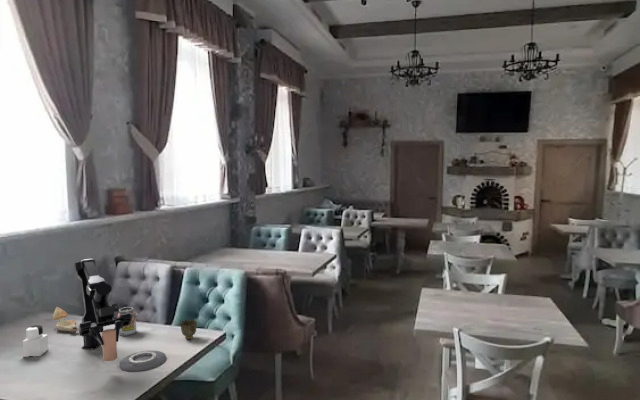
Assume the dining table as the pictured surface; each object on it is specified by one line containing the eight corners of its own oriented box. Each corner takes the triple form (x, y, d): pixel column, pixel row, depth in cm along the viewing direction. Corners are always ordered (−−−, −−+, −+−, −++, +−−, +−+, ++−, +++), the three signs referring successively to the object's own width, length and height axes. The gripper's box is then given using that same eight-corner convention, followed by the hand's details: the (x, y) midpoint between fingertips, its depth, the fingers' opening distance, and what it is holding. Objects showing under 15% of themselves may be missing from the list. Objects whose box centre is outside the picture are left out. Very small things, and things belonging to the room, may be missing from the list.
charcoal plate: (109, 370, 177) (109, 368, 177) (135, 351, 194) (135, 349, 194) (151, 372, 174) (150, 370, 173) (173, 353, 191) (173, 351, 191)
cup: (192, 342, 203) (191, 325, 203) (178, 341, 205) (177, 324, 204) (200, 335, 211) (199, 319, 210) (186, 335, 212) (185, 318, 211)
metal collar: (123, 364, 180) (123, 361, 179) (138, 353, 190) (138, 350, 190) (147, 366, 178) (147, 363, 178) (161, 354, 188) (161, 352, 188)
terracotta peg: (100, 361, 171) (98, 333, 170) (107, 355, 176) (105, 328, 175) (113, 361, 171) (111, 333, 170) (119, 355, 176) (118, 328, 175)
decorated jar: (137, 328, 222) (136, 304, 221) (140, 333, 215) (139, 309, 214) (117, 332, 217) (116, 308, 217) (119, 337, 210) (118, 313, 209)
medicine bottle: (32, 350, 198) (30, 324, 197) (48, 349, 198) (47, 323, 197) (22, 357, 191) (20, 330, 190) (40, 356, 191) (38, 329, 190)
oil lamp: (67, 323, 232) (65, 304, 231) (85, 332, 219) (84, 312, 218) (48, 328, 225) (47, 308, 225) (66, 337, 212) (65, 317, 211)
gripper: (77, 302, 169) (85, 339, 161) (129, 293, 181) (138, 327, 173) (75, 317, 176) (82, 353, 168) (125, 307, 187) (134, 340, 180)
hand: (110, 343), depth 172 cm, fingers closed on terracotta peg, 5 cm apart
